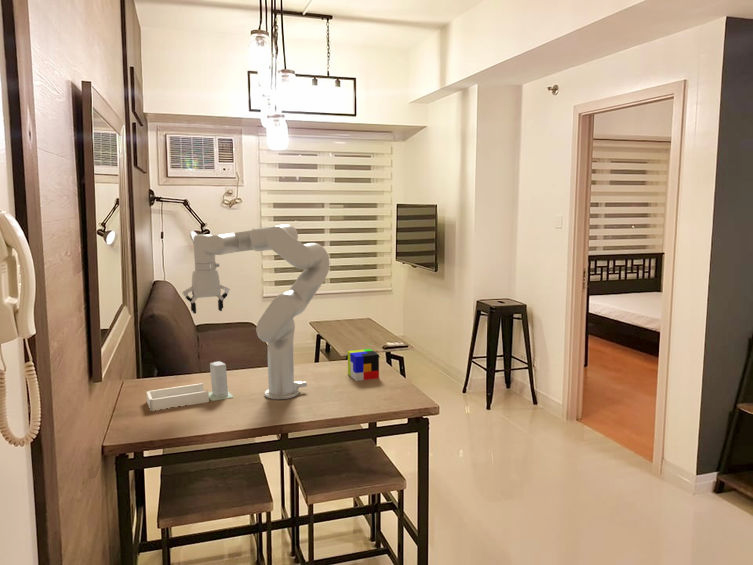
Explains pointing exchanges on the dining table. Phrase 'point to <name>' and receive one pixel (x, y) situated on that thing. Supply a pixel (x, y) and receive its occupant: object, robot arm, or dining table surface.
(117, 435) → the dining table surface
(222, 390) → the skincare box
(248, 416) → the dining table surface
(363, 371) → the puzzle toy
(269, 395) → the robot arm
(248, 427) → the dining table surface
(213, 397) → the mat
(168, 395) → the lane
